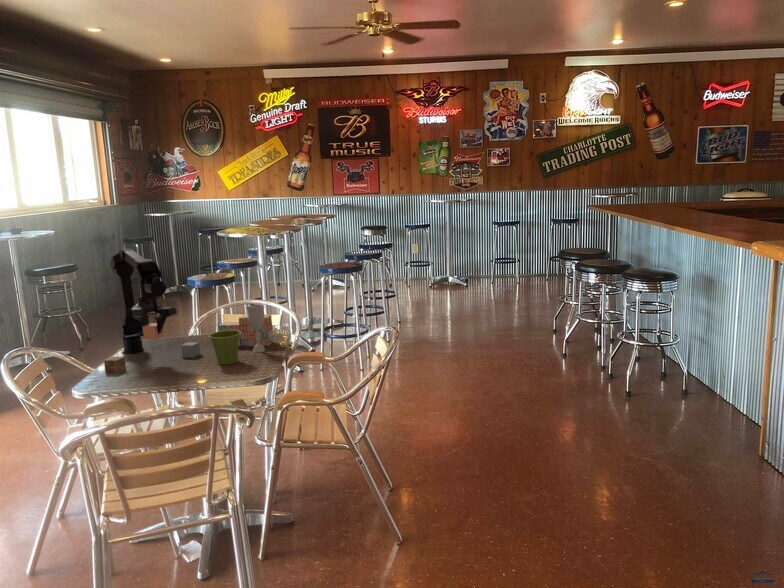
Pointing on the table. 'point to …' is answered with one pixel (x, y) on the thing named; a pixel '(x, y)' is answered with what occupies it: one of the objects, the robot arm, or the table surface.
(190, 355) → the slate cube
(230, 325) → the stack of blocks
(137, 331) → the robot arm
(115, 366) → the walnut cube
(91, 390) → the table surface
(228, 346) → the plant pot
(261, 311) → the chalice
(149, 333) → the terracotta cube
